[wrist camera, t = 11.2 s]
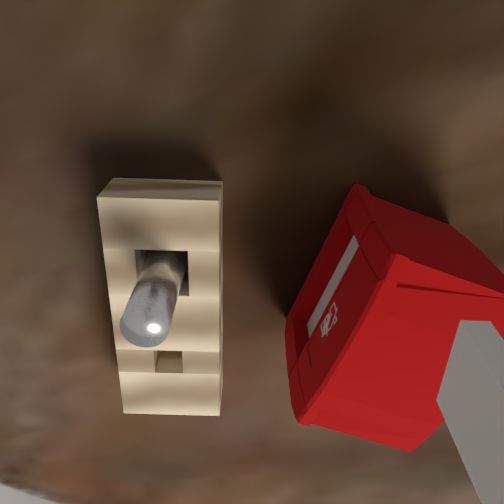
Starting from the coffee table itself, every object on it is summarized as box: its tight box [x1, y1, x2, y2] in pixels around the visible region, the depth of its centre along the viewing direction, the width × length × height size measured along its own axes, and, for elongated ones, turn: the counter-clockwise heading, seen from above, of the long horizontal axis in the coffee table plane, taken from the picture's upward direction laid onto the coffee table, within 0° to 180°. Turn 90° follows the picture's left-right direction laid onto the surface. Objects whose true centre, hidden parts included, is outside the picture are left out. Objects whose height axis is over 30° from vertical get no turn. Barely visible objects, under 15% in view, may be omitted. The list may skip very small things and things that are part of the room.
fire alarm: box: [285, 183, 504, 452], centre depth 41 cm, size 16×11×15 cm
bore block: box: [97, 178, 223, 416], centre depth 47 cm, size 24×10×5 cm, turn 178°
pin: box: [119, 250, 188, 348], centre depth 40 cm, size 4×4×12 cm
